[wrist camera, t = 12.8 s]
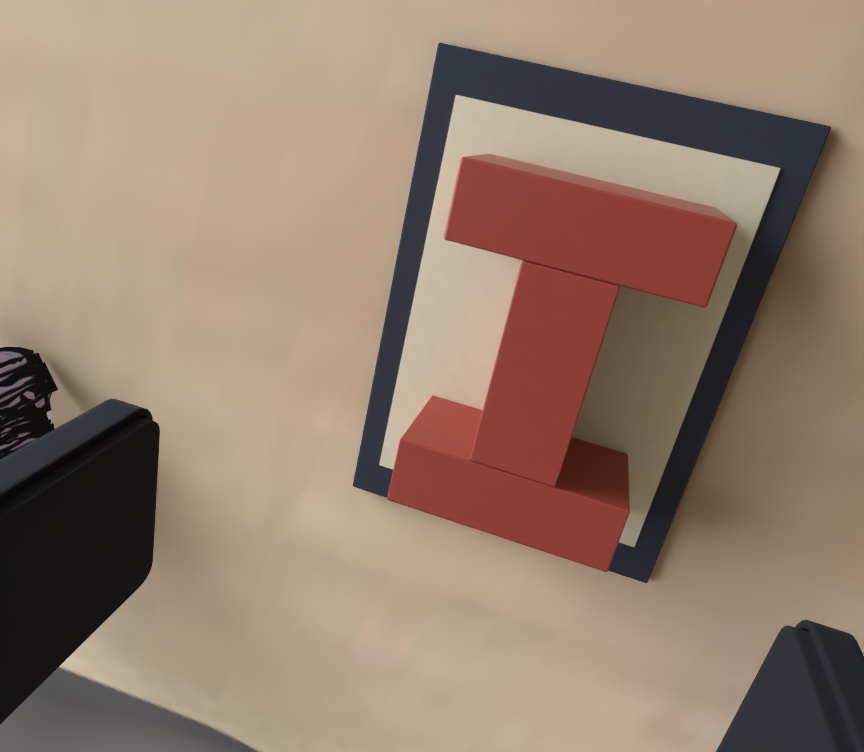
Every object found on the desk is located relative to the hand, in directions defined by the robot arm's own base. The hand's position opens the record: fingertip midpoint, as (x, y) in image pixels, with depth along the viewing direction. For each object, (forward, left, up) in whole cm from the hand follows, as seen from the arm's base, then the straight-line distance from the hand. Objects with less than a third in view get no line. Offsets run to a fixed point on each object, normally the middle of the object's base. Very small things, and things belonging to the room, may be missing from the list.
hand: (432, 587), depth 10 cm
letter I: (+1, -1, -17) cm, 17 cm away
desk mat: (0, -1, -18) cm, 18 cm away
